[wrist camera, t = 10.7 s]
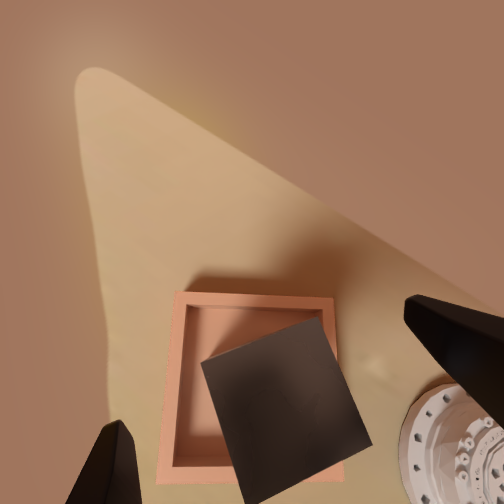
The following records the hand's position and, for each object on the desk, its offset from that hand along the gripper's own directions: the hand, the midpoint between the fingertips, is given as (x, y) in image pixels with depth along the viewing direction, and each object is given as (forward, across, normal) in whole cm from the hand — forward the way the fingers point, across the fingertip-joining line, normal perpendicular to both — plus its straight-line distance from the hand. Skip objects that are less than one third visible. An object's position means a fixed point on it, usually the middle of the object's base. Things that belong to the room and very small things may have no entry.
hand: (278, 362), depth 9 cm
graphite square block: (+8, 0, +10) cm, 13 cm away
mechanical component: (+1, -12, +18) cm, 22 cm away
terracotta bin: (+8, 0, +10) cm, 13 cm away
